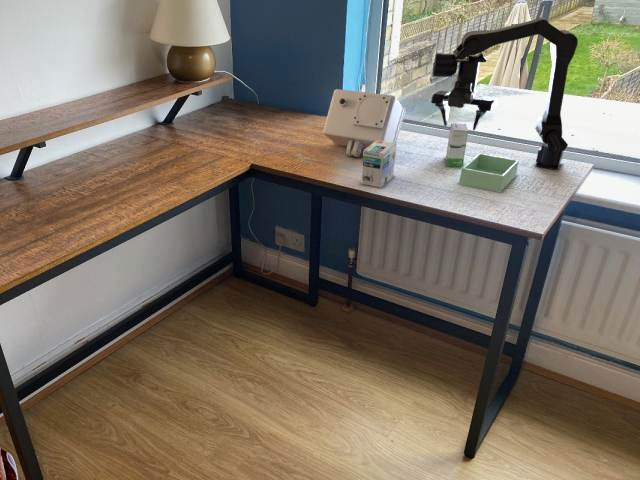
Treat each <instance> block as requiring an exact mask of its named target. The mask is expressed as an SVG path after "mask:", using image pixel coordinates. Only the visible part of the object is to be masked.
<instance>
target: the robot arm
mask: <svg viewBox="0 0 640 480" xmlns="http://www.w3.org/2000/svg"><path fill="white" fill-rule="evenodd" d="M538 35H540V36H541V37H543V38H544V39H545V40H547V41H548V42H550V43H549V45H550V57H551V70H550V77H549V83H548V90H547V97H546V104H545V110H544V112H543V114H542V116H537V118H536V120H537V121H536V123H537V124H536V126H535V128H534V129H535V131H536V132H537V135H538V136H539V138H540V139H541V141H542V145H541V147H540V148H539V149H538V151H537V156H536V160H535V162H536V163H535V166H536V167H539V168H546V169H551V170H558V169H559V168H560V167H561V165H562V164H563V162H562V160H563V155H564V152H565V150H566V149H567V147H568V146H569V144H568V143H567V142H566V140H565V139H564V138H563V122H562V115H561V112H562V106H563V101H564V95H565V89H566V82H567V76H568V70H569V66H570V64H571V61H572V60H573V58H574V56H575V53H576V52H577V51H576V50H577V47H578V45H579V40H578V37H577V36H576V35H575V34H574V33H572V32H571V31H570V30H567V29H559V28H557V27H555V26H554V25H552V24H551V23H550V22H549V21H548V20H547V19H545V18H544V17H537V18H535V19H532V20H528V21H524V22H520V23H516V24H513V25H509V26H508V25H507V26H504V27H501V28H497V29H488V30H487V29H483V30H482V29H481V30H480V29H479V30H470V31H468V32H466V33H464V35H463V36H462V38H461V41H460V43H459V44H458V46H457V47H456V48H455V49H454V50H453V51H452V53H442V52H436V53H435V55H434V61H433V63H432V74H431V75H432V78H452V77H453V76H455V74H457V77H456V81H454V86H453V89H452V90H451V91H446V90H438V91H436V92H435V93H433V94H432V96H431V99H430V102H431V104H434V106H435V107H437V108H438V109H439V110H440V113H441V116H442V121H443V125H444V127H446V126H447V125H448V123H449V115H450V108H452V107H453V108H458V109H462V108H464V107H465V105H471V106H477V109H476V110H475V118H474V122H473V125H472V131H475V130H477V128H478V126H479V124H480V122H481V120H482V118H483V117H484V115H485V114H487V113H488V112H491V111H492V110H494V109H495V108H496V107H497V105H498V99H497V98H496V96H495V97H494V96H485V95H484V96H482V97H481V98H475V97H476V94H477V93H476V88H477V87H476V86H477V83H478V80H479V78H478V75H479V68H480V63H487V62H488V59H487V58H486V57H485V56H484V52H485V51H487V50H489V49H491V48H492V47H496V46H497V45H501V44H506V43H510V42H513V41H517V40H521V39H526V38H529V37H533V36H534V37H535V36H538Z"/></svg>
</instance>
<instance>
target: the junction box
mask: <svg viewBox="0 0 640 480" xmlns="http://www.w3.org/2000/svg"><path fill="white" fill-rule="evenodd" d="M405 114H406V109H405V107H404V106H403V105H402V104H401V103H400V101H399V100H398V98H397V97H396V95H391V94H385V93H384V94H383V93H375V92H374V93H373V92H364V91H357V90H347V89H340V88H336V89H334V91H333V93H332V97H331V101H330V105H329V108H328V111H327V115H326V119H325V123H324V127H323V130H322V133H323V135H324V136H326V137H327V138H328V139H329V140H330V141H332V143H333V144H334V145H335V146H339V147H340V146H341V147H346V155H347V156H348V157H354V158H359V157H360V156H361V155H362V150H365V149H366V148H367V147H369V146H370V145H371V144H373V143H374V142H375V141H377V140H378V141H383V142H389V143H395V144H396V145H397V143H398V140H399V139H398V138H399V135H400V131H401V128H402V125H403V121H404V117H405Z"/></svg>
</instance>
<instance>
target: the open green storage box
mask: <svg viewBox="0 0 640 480" xmlns="http://www.w3.org/2000/svg"><path fill="white" fill-rule="evenodd" d="M519 163H520V160H519V159H514V158H508V157H502V156H498V155H491V154H485V153H480V152H479V153H477V155H475V156H474V157H473V158H472V159H470V160H469V161H468V162H467V163H466V164H465V165H463V167H461V169H460V176H459V182H458V184H459V185H463V186H468V187H472V188H477V189H480V190H481V189H482V190H487V191H491V192H496V193H501V192H502V191H503V190H504V189H505V188H506V187H507V186H508V185H509V184H510V183H511V181H513V180H514V178H516V176H517V172H518V168H519Z"/></svg>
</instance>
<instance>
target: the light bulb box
mask: <svg viewBox="0 0 640 480" xmlns="http://www.w3.org/2000/svg"><path fill="white" fill-rule="evenodd" d="M362 150H363V151H362V152H363V153H362V166H361V169H362V170H361V185H367V186H370V187H376V188H380V189H381V188H383V187H384V186H385V185H386V184H387V183H388V182H389V181H391V180H392V179H393V178H394V176H395V175H394V174H395V163H396V153H397V152H396V151H397V143H396V144H395V143H389V142H383V141H378V140H377V141H375V142H374V143H373V144H371V145H370V146H369V147H367V148H366V149H365V150H364V149H362Z"/></svg>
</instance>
